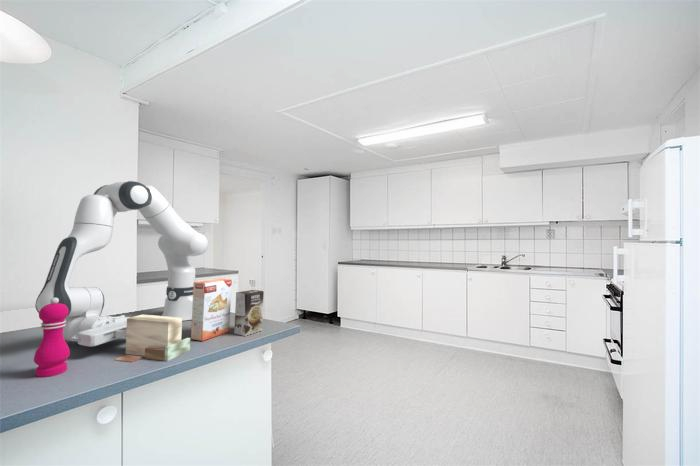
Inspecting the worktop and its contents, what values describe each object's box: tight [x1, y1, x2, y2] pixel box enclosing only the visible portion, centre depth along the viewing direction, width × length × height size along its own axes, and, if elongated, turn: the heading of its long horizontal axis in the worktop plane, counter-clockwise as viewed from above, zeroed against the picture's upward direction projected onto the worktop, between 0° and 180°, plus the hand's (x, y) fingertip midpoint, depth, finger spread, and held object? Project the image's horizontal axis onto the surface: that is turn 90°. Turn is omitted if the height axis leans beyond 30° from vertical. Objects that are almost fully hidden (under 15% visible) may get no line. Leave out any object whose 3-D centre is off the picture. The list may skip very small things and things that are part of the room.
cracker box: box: [190, 278, 233, 342], centre depth 126 cm, size 14×6×21 cm, turn 158°
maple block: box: [125, 313, 183, 357], centre depth 106 cm, size 6×15×11 cm, turn 78°
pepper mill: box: [33, 298, 71, 378], centre depth 90 cm, size 7×7×20 cm
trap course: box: [114, 337, 191, 363], centre depth 107 cm, size 17×21×4 cm
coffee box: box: [233, 289, 265, 337], centre depth 131 cm, size 9×6×16 cm
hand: (134, 333), depth 108 cm, fingers closed, pressing on maple block
